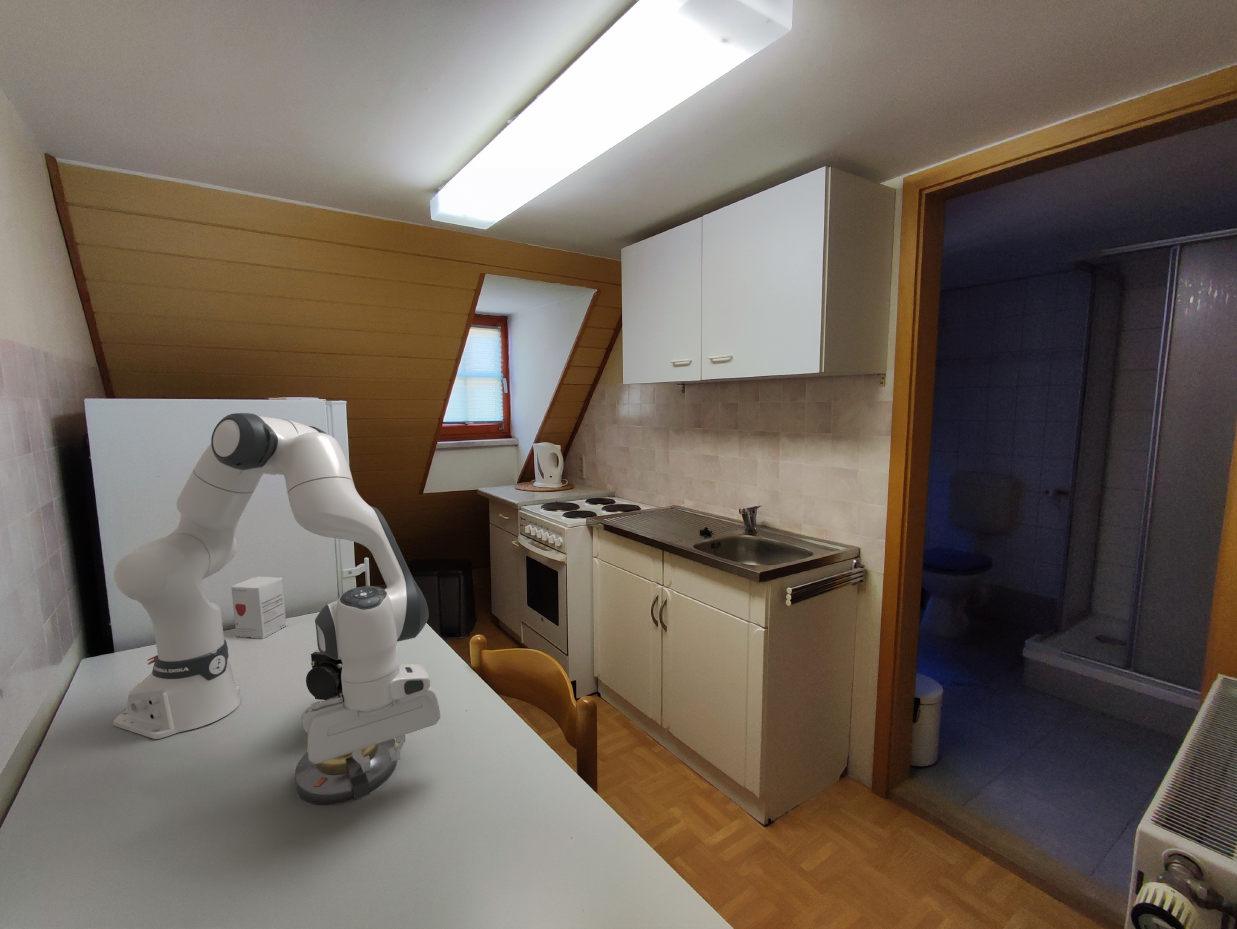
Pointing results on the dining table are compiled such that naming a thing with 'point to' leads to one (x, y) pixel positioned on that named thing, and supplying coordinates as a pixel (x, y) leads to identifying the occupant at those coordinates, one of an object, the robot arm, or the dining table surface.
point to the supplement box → (258, 607)
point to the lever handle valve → (350, 770)
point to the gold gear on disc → (340, 778)
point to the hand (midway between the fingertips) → (380, 764)
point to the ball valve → (324, 677)
